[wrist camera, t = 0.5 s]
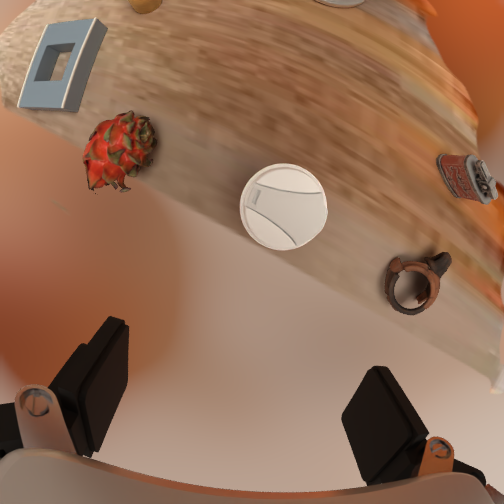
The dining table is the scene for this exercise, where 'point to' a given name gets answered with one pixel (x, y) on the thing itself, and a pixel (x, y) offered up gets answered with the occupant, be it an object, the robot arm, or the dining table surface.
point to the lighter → (467, 177)
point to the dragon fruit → (118, 150)
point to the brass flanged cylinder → (145, 5)
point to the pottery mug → (433, 274)
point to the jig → (77, 70)
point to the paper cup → (283, 206)
